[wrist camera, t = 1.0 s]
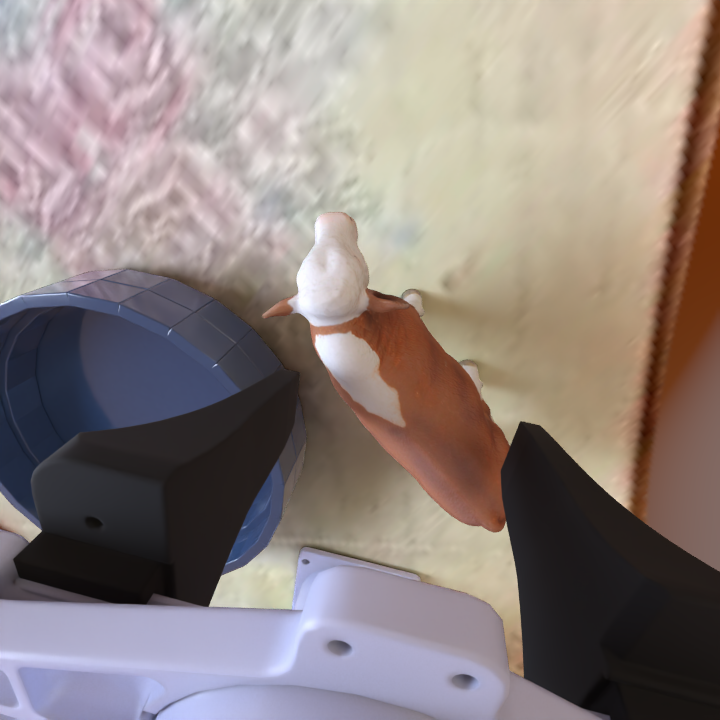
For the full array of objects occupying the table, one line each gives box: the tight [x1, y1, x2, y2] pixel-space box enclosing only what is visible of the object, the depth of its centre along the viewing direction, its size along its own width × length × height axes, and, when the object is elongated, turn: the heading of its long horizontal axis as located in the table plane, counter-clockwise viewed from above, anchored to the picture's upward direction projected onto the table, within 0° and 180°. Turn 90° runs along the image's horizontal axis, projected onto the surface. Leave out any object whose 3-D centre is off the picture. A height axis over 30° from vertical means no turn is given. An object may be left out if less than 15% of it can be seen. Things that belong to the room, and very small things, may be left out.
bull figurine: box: [262, 212, 510, 532], centre depth 17 cm, size 4×13×8 cm, turn 32°
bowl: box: [0, 269, 307, 575], centre depth 23 cm, size 17×17×4 cm
